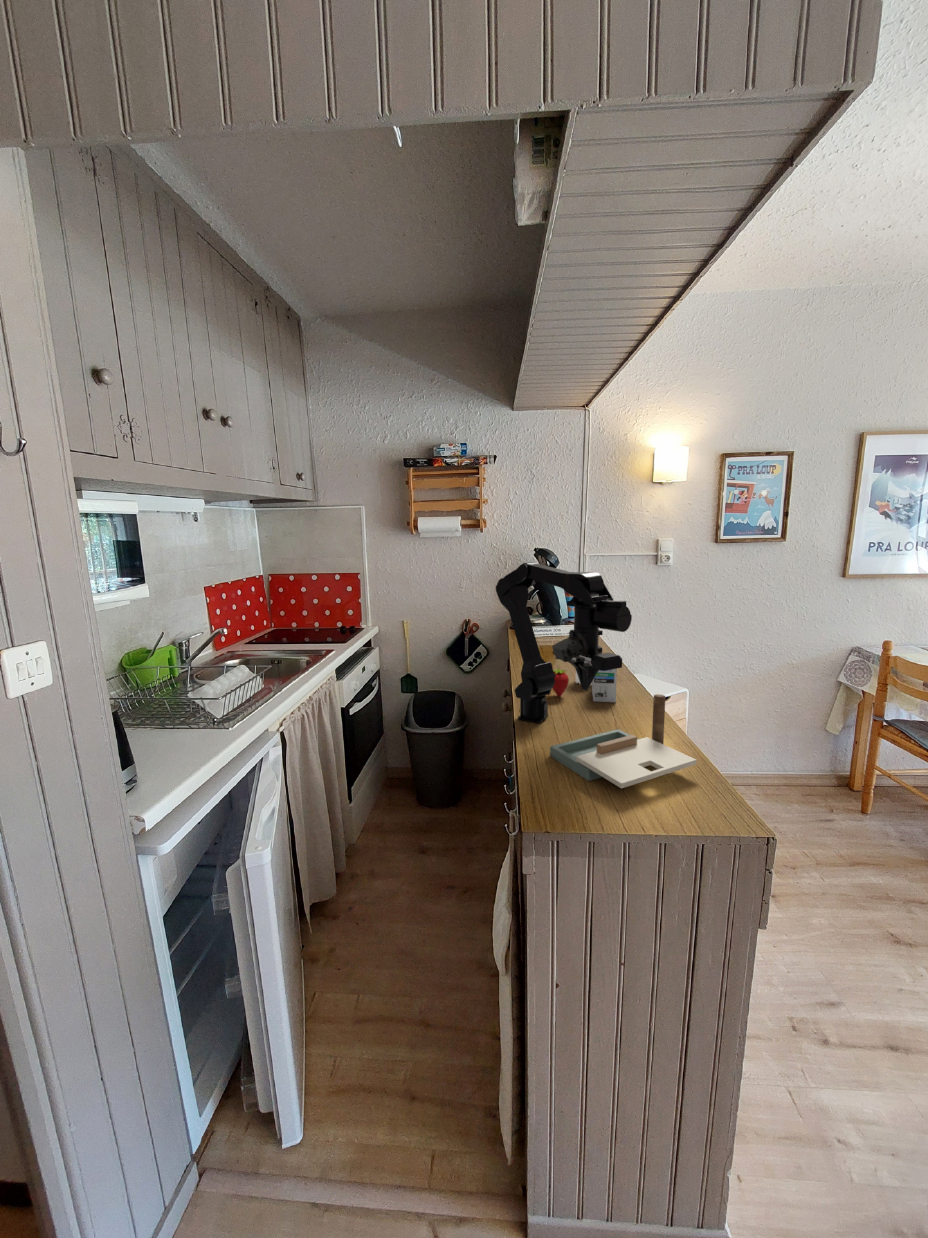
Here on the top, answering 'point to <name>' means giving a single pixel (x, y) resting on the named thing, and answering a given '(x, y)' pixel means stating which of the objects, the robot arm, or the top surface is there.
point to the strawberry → (560, 682)
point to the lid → (633, 760)
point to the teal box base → (582, 751)
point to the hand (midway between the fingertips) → (585, 689)
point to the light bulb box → (604, 686)
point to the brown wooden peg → (658, 718)
